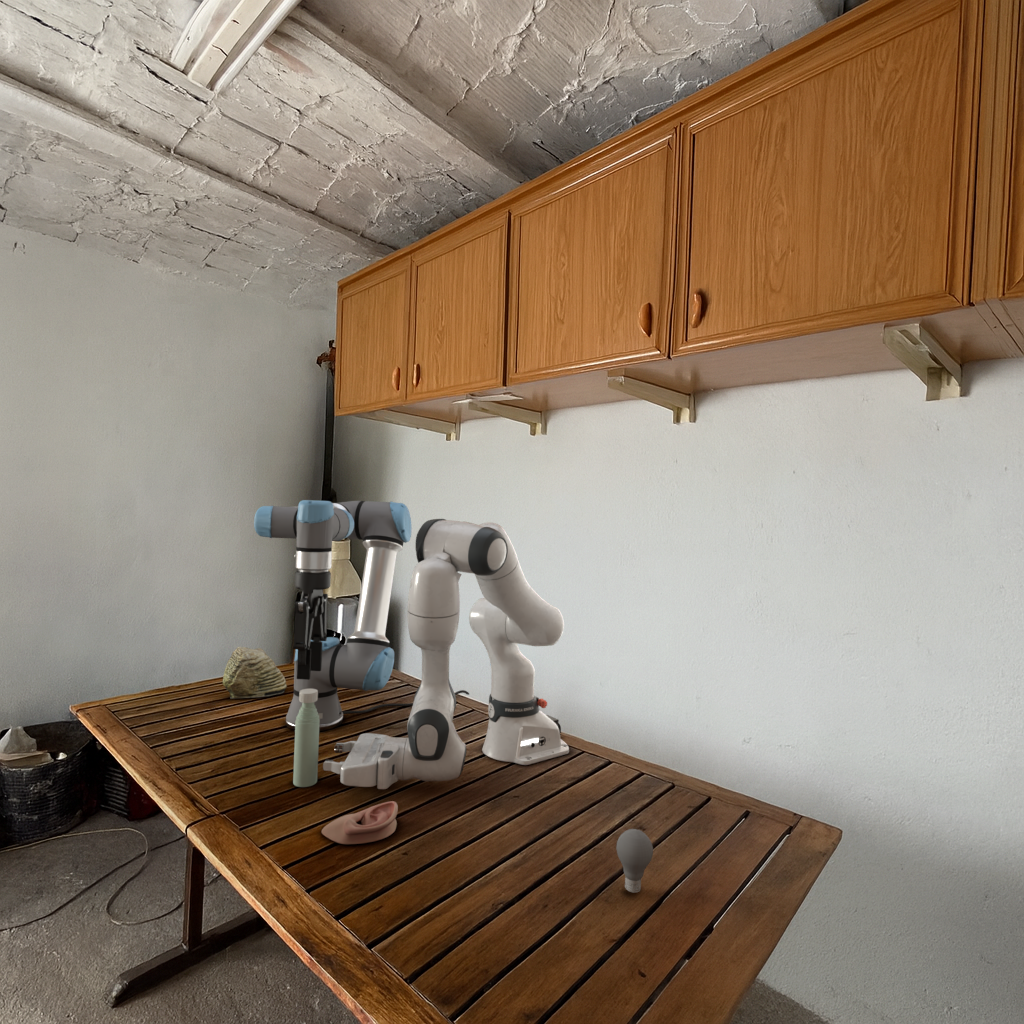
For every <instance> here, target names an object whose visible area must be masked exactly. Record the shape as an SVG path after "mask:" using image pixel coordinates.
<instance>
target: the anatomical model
mask: <svg viewBox="0 0 1024 1024" xmlns="http://www.w3.org/2000/svg"><path fill="white" fill-rule="evenodd" d="M398 809H399V806H398V803H397V802H396V801H393V800H392V801H391V800H390V801H385V802H381V803H378V804H376V805H372V806H370V807H368V808H365V809H363V810H360V811H358V812H355V813H350V814H344V815H342V816H340V817H338V818H336V819H334V820H332V821H331V822H329V823H327V824H326V825H325V826H323V828H322V829H321V834H322V835H323V836H324V837H325V838H327V839H328V840H331V841H333V842H335V843H337V844H341V845H357V844H358V845H359V844H367V843H372V842H377V841H380V840H384V839H385V838H388V837H389V836H391V835H392V834H393V833H395V831H396V829H397V826H398V823H397V820H396V819H397V815H398V812H399V811H398Z"/></svg>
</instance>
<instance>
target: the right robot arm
mask: <svg viewBox="0 0 1024 1024" xmlns="http://www.w3.org/2000/svg"><path fill="white" fill-rule="evenodd" d="M415 553H416V554H415V555H416V556H415V557H416V560H417V563H416V565H415V566H414V567H413V570H412V574H411V578H410V583H409V588H408V596H407V597H408V598H407V628H408V629H407V630H408V635H409V640H410V641H411V642H412V643H413V645H415V646H416V647H417V648H420V651H421V681H420V684H419V685H418V687H417V689H416V691H415V694H414V696H413V701H412V703H413V706H411V709H410V713H409V716H408V720H407V723H406V729H407V730H406V731H407V737H395V736H394V737H393V736H389V735H388V734H382V733H381V734H380V733H372V732H371V733H370V732H365V733H361V734H359V736H358V738H357V740H350V741H346V742H336V744H335V745H334V753H336V754H344V753H345V752H349V753H348V755H347V757H346V758H345V760H344V761H340V762H338V761H334V759H325V760H324V762H323V764H322V770H323V771H324V772H332V773H334V774H337V775H340V777H339V778H340V779H339V780H340V783H341V784H343V785H344V786H348V787H360V788H372V787H373V788H374V787H375V786H376V789H378V790H386V789H387V790H388V788H389V787H391V786H392V785H393V784H394V783H396V782H398V781H409V780H419V781H422V782H447V781H454V780H456V779H458V778H459V777H460V776H461V775H462V773H463V770H464V766H465V762H466V756H467V745H466V743H465V742H464V741H463V740H462V739H461V737H460V735H459V733H458V732H457V729H456V727H455V723H454V722H453V720H454V714H455V712H456V711H455V710H456V709H457V697H456V696H457V695H455V691H454V688H453V687H452V684H451V681H450V652H451V651H450V650H451V647H452V645H453V644H454V642H455V641H456V637H457V633H458V629H459V622H460V611H461V609H460V607H461V606H460V605H461V604H460V603H461V601H460V600H461V599H460V597H461V595H460V586H459V584H460V583H459V581H460V579H461V576H462V573H465V574H474V576H475V579H476V581H477V584H478V587H479V589H480V592H481V595H482V596H483V597H482V598H478V599H477V600H476V601H475V602H474V603H473V605H472V606H471V608H470V610H469V615H468V621H469V626H470V629H471V630H472V632H473V633H474V634H475V635H476V636H477V637H478V639H480V642H482V644H483V646H484V648H485V650H486V653H487V655H488V659H489V663H490V675H491V676H490V679H491V681H490V685H491V686H490V694H489V696H488V708H487V711H488V714H487V715H488V722H487V730H486V734H485V738H484V741H483V745H482V748H481V751H482V753H483V754H484V755H485V756H487V757H489V758H491V759H493V760H497V761H501V762H509V763H515V764H518V765H522V766H528V765H532V764H536V763H539V762H540V763H541V762H544V761H547V760H550V759H553V758H557V757H561V756H564V755H568V754H569V753H570V748H569V745H568V744H567V743H566V742H565V741H564V740H563V739H562V738H561V736H562V727H561V724H560V723H559V718H556V717H553V716H551V715H549V714H546V713H544V712H543V711H541V709H540V708H542V709H546V708H547V707H548V701H547V700H545V699H544V698H539V697H538V696H537V695H535V681H536V680H535V678H536V669H535V667H534V664H533V662H532V661H531V660H530V659H529V658H527V657H526V656H525V655H524V654H523V653H522V652H521V649H520V647H519V645H525V646H529V647H551V646H554V645H556V644H557V643H558V642H559V641H560V640H561V638H562V636H563V634H564V629H565V620H564V617H563V614H562V612H561V610H560V609H559V608H558V607H556V606H554V605H552V604H551V603H549V602H547V601H546V600H545V599H544V598H542V597H541V596H540V595H539V594H538V592H536V590H535V589H534V587H532V586H531V585H530V583H529V582H528V581H527V578H526V576H525V574H524V571H523V569H522V567H521V563H520V561H519V557H518V554H517V551H516V549H515V547H514V545H513V543H512V541H511V539H510V537H509V535H508V533H507V532H506V530H505V528H504V527H503V526H501V525H500V524H498V523H495V522H483V523H480V524H477V523H473V522H470V521H463V520H462V521H460V520H448V519H445V518H434V519H429V520H426V521H425V522H424V523H423V524H422V525H420V528H419V529H418V531H417V533H416V536H415ZM560 733H561V734H560Z"/></svg>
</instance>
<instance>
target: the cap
mask: <svg viewBox="0 0 1024 1024" xmlns="http://www.w3.org/2000/svg"><path fill="white" fill-rule="evenodd" d="M317 699H318V690H316V689H303V690H300V693H299V701H300V702H302V703H312V702H316V701H317Z"/></svg>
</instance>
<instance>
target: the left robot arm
mask: <svg viewBox="0 0 1024 1024" xmlns="http://www.w3.org/2000/svg"><path fill="white" fill-rule="evenodd" d="M253 528H254V531H255V533H256V534H257V535H258V536H259V537H263V538H270V539H295V540H296V546H295V554H294V556H293V558H294V559H295V569H297V570H296V572H295V573H294V575H295V576H294V587H295V588H296V589H297V590H301V591H302V592H301V596H300V600H299V601H295V602H294V610H295V614H294V615H295V616H294V629H293V630H294V631H293V632H294V634H293V646H292V649H293V650H295V652H294V653H295V654H294V659H293V661H294V670H293V671H294V672H293V695H292V696H293V697H292V699H291V702H290V704H289V708H288V711H287V713H286V715H285V726H286V728H287V729H289V730H291V731H295V721H296V717H297V716H298V713H299V710H300V709H301V706H302V702H300V701H299V693H300V690H303V689H316V690H318V699H317V701H316V702H314V705H315V706H316V707H315V708H316V709H317V712H318V715H319V719H320V722H319V732H325V731H329V730H332V729H335V728H337V727H339V726H340V725H342V723H343V722H344V715H352V714H353V715H355V714H365V713H369V712H372V711H374V710H376V709H380V708H386V707H387V708H388V707H412V706H413V702H411V703H410V702H409V703H408V702H407V703H382V704H377V705H374V706H373V707H370V708H367V709H362V710H343V709H342V706H341V702H340V699H339V695H338V689H348V690H360V691H366V692H368V691H380V690H382V689H383V688H384V687H385V686H386V685H387V684H388V682H389V680H390V678H391V675H392V673H393V670H394V664H395V651H394V649H393V648H391V647H390V640H389V639H388V638H387V637H386V632H387V631H386V630H387V624H388V617H389V610H390V603H391V602H390V601H391V597H392V588H393V581H394V574H395V568H396V561H397V554H398V553H400V552H401V551H402V550H403V548H404V543H405V544H406V543H409V542H410V541H411V538H412V529H413V528H412V517H411V513H410V510H409V508H408V506H407V505H406V504H405V503H403V502H393V501H374V500H373V501H372V500H349V501H341V502H332V501H330V500H314V499H313V500H312V499H302V500H300V501H299V503H298V505H297V506H279V505H278V506H277V505H262V506H260V507H259V508H258V509H257V510H256V511H255V514H254V518H253ZM344 539H351V540H360V541H362V545H363V547H364V548H365V549H366V554H365V561H364V567H363V571H362V572H363V573H362V580H361V586H360V592H359V599H358V605H357V611H356V617H355V624H354V631H353V632H352V633H351V634H350V635H349V636H348V637H347V639H346V644H341V641H340V639H339V638H338V637H334V636H327V618H328V617H327V616H328V615H327V613H328V610H327V608H328V597H329V595H328V593H324V592H323V591H324V590H328V589H330V587H331V581H332V572H330V570H331V569H332V559H333V542H334V541H337V542H340V541H342V540H344ZM454 693H455V696H457V695H459V694H463V693H464V694H466V695H467V696H468V695H470V692H469V691H467V690H464V689H462V690H461V689H460V690H458V691H454Z"/></svg>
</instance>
